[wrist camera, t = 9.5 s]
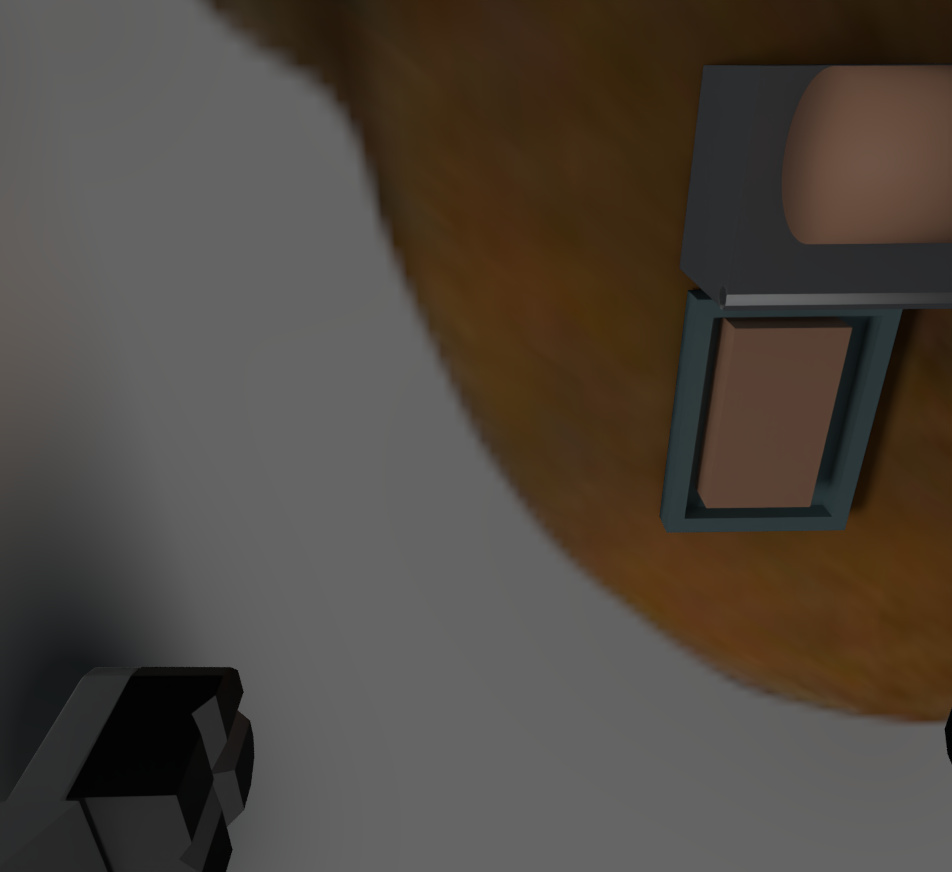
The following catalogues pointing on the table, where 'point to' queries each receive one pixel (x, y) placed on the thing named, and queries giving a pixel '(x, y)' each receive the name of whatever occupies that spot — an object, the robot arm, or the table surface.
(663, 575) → the table surface
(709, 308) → the tray
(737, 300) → the dispenser
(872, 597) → the table surface
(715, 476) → the ticket
